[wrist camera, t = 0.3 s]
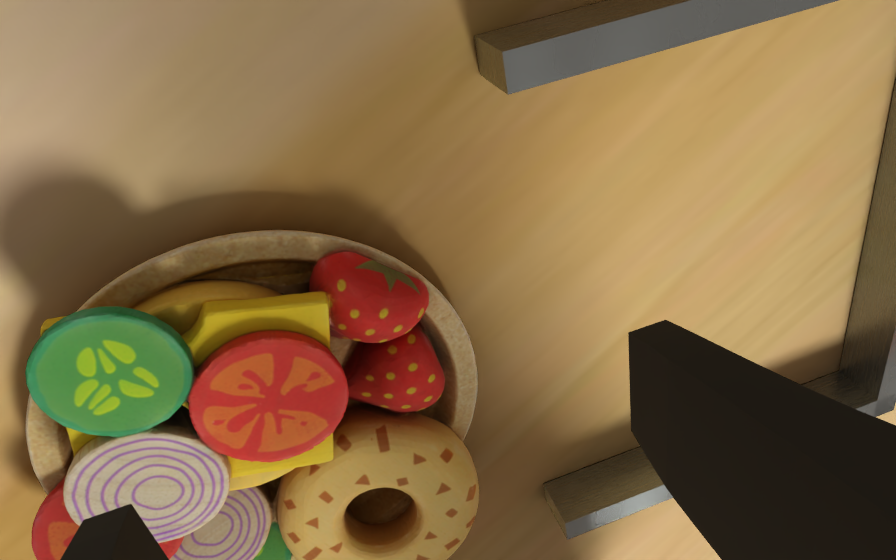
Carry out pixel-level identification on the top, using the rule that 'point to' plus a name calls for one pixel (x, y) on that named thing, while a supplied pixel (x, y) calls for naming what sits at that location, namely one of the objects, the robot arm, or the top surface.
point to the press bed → (642, 33)
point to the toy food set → (259, 405)
